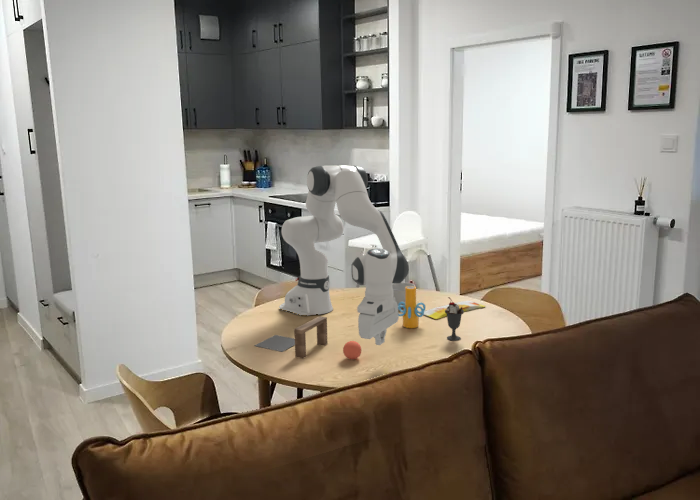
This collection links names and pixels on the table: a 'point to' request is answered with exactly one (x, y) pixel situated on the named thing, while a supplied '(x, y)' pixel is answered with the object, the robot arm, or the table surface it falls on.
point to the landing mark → (277, 343)
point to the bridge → (301, 337)
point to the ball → (352, 350)
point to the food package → (440, 311)
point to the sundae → (453, 319)
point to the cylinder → (411, 308)
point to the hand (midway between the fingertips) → (380, 343)
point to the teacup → (400, 291)
